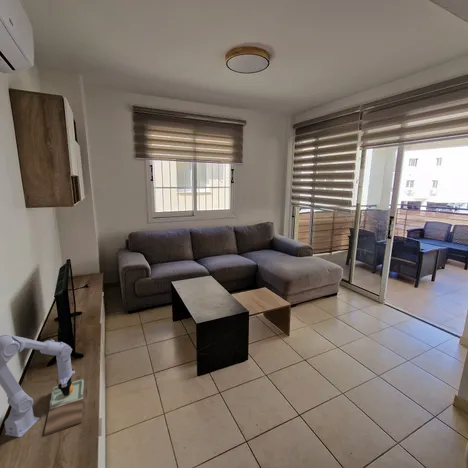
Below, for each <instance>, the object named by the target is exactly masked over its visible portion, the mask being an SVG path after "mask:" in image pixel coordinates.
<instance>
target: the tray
mask: <svg viewBox="0 0 468 468" xmlns="http://www.w3.org/2000/svg"><path fill="white" fill-rule="evenodd" d="M71 382H72V384H71V385H73V391H72V393H71V394H69V395H67V396H64V395H63V394H62V391H61V390H60V389H58V385H57V386H53V387H52V392H51V397H50V400H49V408H50V407H53V406H56V405H59V404H62V403H66V402H69V401H72V400H75V399H79V398H82V397H83V398H84V396H83V389H84V390H85V378H80V379H79V380H75V381H71Z"/></svg>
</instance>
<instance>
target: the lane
mask: <svg viewBox="0 0 468 468" xmlns="http://www.w3.org/2000/svg"><path fill="white" fill-rule="evenodd" d="M84 392H85V388H84V389H83V397H82V398H79V399H75V400H72V401H69V402H66V403H62V404H59V405H56V406H53V407H50V406H49V409H48V414H47V420H46V424H45V429H44V434H43V436H44V437H46V436H48V435H52V434H54V433H56V432H60V431H62V430H65V429H68V428H71V427H72V428H73V427H75V426H78V425H80V424H82V422H83V408H84V407H83V406H84V395H85V393H84Z"/></svg>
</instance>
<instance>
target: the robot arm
mask: <svg viewBox="0 0 468 468" xmlns="http://www.w3.org/2000/svg"><path fill="white" fill-rule="evenodd" d="M24 349H28V350H37V351H39V352H40V353H41V354H44V355H49V356H55V357H56V364H57V365H56V366H57V372H58V380H59V382H60V383H58V385H57V386H58V389H60V390H61V391H62V393H63V395H64V396H67V395H69V392H70V386H71V384H72V382H73V381H72V376H73V375H74V374H75V373H76V371H75V370H74V368H72V367H73V366H72V360H71V354H72V351H73V348H72V347H71V346H70V345H69V344H67V343H65V342H63V341H55V340H54V339H50V340H49V339H48V340H45V341H38V340H34V339H31V338H27V337H22V336H17V335H7V334H1V335H0V386H1V388H2V389H3V391H4V393H5V394H6V397H7V405H9V406H10V407H11V408H10V409H11V410H10V414H9V416H8V417H7V418H6V419H5V421H4V427H5V428H4V429H5V433H4V435H5V436H11V437H16V438H21V437H23V436H24V434H26V433H27V432H28V431H29V430H30V429H31V428H32V427H33V426H34V425H35V424H36V423H37V422H38V421H39V420H40V417H37V416H34V415H35V414H34V410H33V405H34V399H33V397H31V396H29V395H28V394H27V393H26V392H25V390H24V389H23V388H22V387H21V384H19V383H18V380H17V379H16V377H15V376H14V374H13V373H12V371H11V369H10V368H9V366H8V365H7V363H8V362H10V360H12V359H13V357H14V356H15V355H16V354H17V353H21V352H22V351H23V350H24Z"/></svg>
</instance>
